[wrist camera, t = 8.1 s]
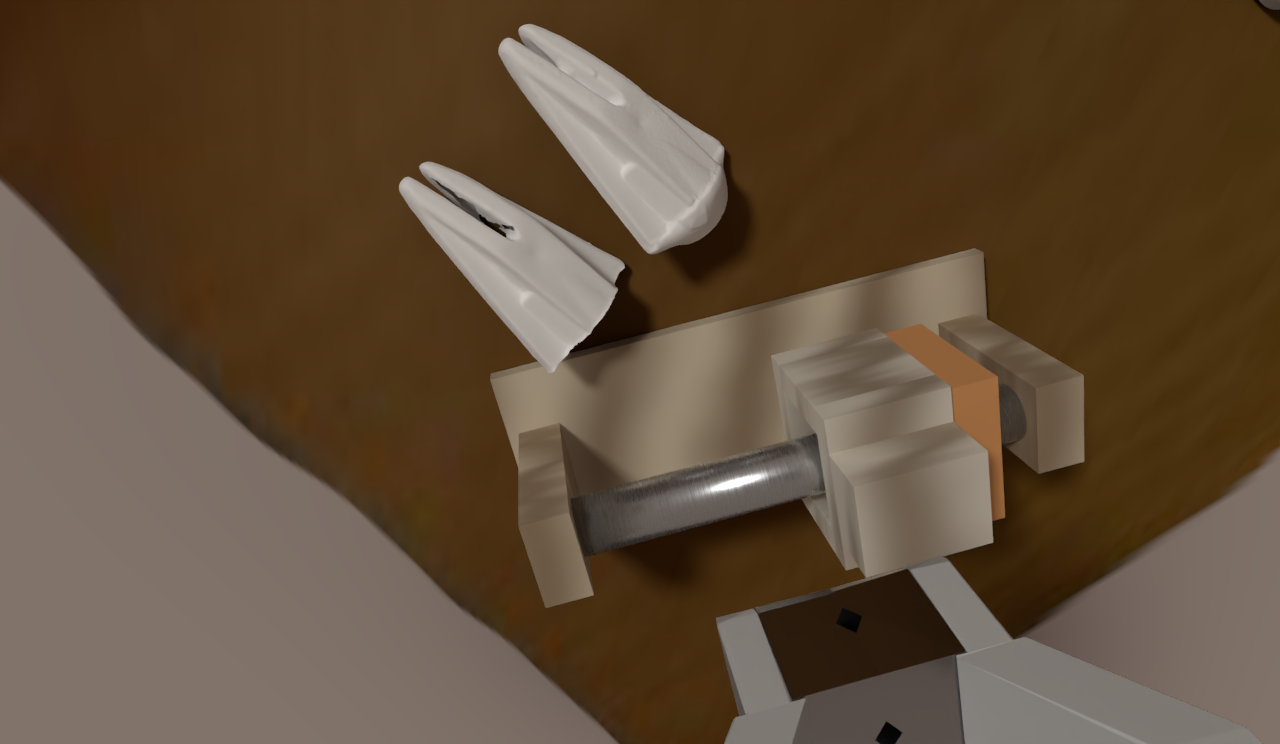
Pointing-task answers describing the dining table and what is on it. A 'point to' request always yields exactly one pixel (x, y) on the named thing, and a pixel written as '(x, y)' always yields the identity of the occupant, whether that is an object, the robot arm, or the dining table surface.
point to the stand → (741, 395)
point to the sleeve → (884, 453)
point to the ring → (963, 397)
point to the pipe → (722, 489)
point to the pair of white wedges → (615, 164)
